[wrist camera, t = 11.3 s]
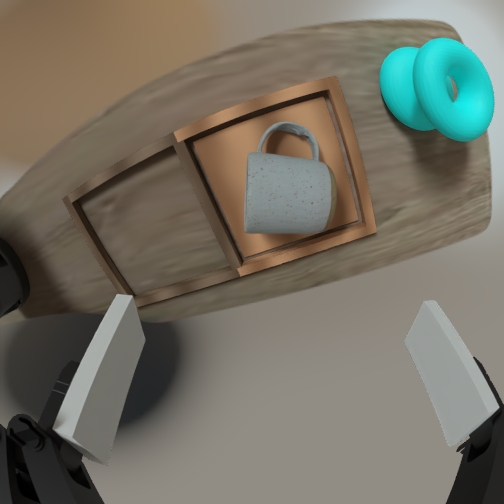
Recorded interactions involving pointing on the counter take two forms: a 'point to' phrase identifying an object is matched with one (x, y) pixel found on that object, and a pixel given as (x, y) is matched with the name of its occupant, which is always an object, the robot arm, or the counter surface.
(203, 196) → the tray
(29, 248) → the counter surface
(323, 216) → the ceramic mug
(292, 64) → the counter surface
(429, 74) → the donuts
